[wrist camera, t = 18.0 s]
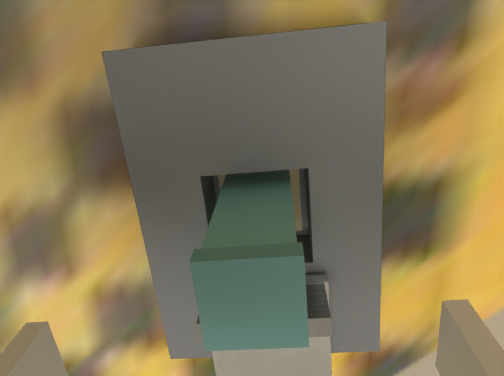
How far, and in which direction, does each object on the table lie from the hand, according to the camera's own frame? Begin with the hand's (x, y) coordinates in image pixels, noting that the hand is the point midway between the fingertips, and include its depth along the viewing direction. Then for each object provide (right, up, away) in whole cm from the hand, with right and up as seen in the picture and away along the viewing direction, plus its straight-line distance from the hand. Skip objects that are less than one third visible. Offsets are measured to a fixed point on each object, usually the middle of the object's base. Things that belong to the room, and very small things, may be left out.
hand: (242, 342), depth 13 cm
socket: (+1, +5, +14) cm, 15 cm away
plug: (+1, +5, +13) cm, 14 cm away
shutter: (+1, -4, +12) cm, 13 cm away
